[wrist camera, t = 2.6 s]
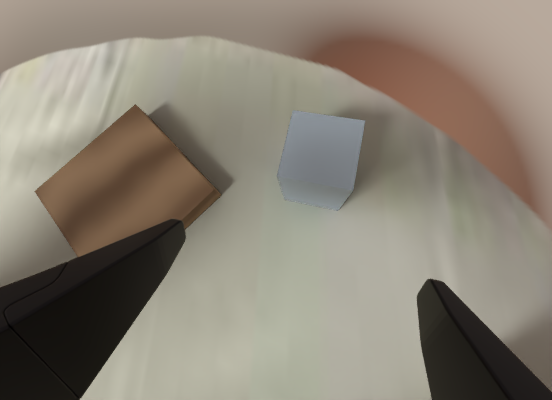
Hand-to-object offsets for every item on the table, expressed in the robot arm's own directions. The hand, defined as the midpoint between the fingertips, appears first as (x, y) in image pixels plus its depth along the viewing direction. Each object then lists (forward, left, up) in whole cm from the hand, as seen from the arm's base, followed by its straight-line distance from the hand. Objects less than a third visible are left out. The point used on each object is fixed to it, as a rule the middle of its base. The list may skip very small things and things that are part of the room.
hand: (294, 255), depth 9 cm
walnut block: (+16, +8, -13) cm, 22 cm away
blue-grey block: (+4, -6, -13) cm, 15 cm away
